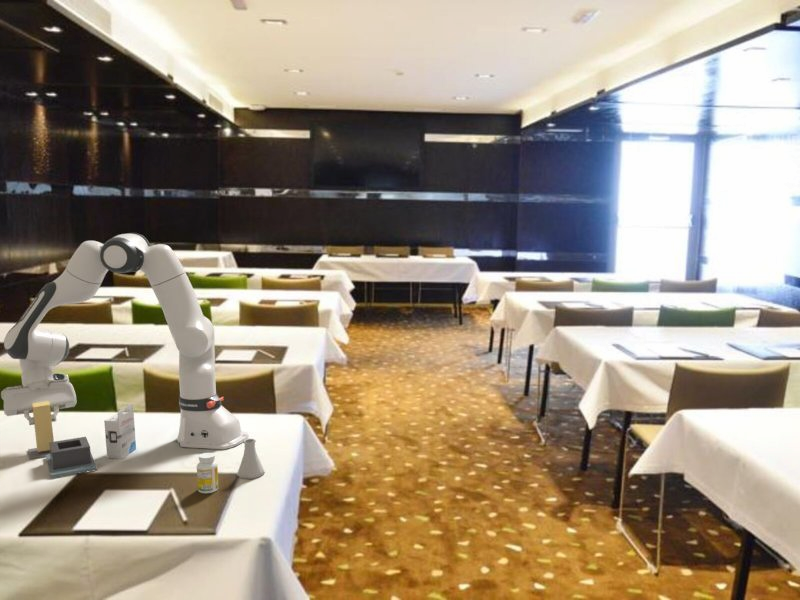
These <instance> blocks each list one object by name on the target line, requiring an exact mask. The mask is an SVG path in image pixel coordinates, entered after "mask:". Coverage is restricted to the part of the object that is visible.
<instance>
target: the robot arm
mask: <svg viewBox="0 0 800 600" xmlns="http://www.w3.org/2000/svg"><path fill="white" fill-rule="evenodd" d="M109 271H110V272H112V273H118V274H123V273H135V272H139V271H141V272H142V273H143V274H144V275H145V277H146V279H147V280H148V282H149V284H150V287H151V288H152V291H153V293H154V295H155V297H156V299H157V301H158V303H159V306H160V308H161V309H162V311H163V314H164V319H165V320H166V323H167V326H168V329H169V331H170V334H171V336H172V339H173V341H174V344H175V347H176V349H177V350H178V354H179V355H178V358H179V359H178V380H179V382H178V383H179V396H178V405H179V406H178V407H179V410H180V420H179V429H178V433H177V434H178V435H177V442H178V443H179V446H180V447H181V448H195V449H213V450H227V449H230V448H234V447H236V446H239V445H240V444H242V443H243V441H244V440H246V439H249V433H248V432H245V431H242V429H241V424H240V421H239V418H238V417H237V416H235V415H234V414H232V413H231V412H230V411H229V410H228V409H226V408H225V407H224V405H222V401H224V400H225V399H224V398H225V397H224V396H222V397H220V396H219V394H218V393H217V388H216V386H217V385H216V353H215V352H216V350H215V348H216V347H215V344H216V343H215V327H214V325H213V323H212V321H211V320H210V319H209V318H208V317H206V316H205V315H204V314H203V313H204V312H203V311H202V308H201V305H200V302H199V300H198V297H197V293H196V292H195V290H194V287H193V285H192V283H191V281H190V279H189V277H188V274H187V273H186V270H185V268H184V266H183V265H182V263H181V261H180V259H179V258H178V256H177V254H175V252H174V251H173V249H172V247H171V246H169V245H167V244H164V243H163V244H162V243H157V244H154V245H151V244H150V242H149V240H148V239H147V238H146V237H145V236H144V235H143V234H140V233H137V232H127V233H121V234H117V235H115V236H113V237H112V238H110V239H108V240H107V241H105V243H102V242H100V241H96V240H85V241H83V242H82V243H80V245H79V246H78V247H77V248H76V250H75V251H74V253H73V254H72V256H71V258H70V259H69V261H68V263H67V265H66V266H65V269H64V270H63V272H62V273H61V274H60V275H59V276H58V277H57V278H56V279H54V280H52V281H51V282H48V283H45V284H44V286H42V288H41V289H40V290H39V291H38V293H37V295H36V296H35V297H34V298H33V300H32V301H31V303H30V304H29V305H28V307H27V308H26V310H25V311H24V312H23V314H22V315H21V316H20V318H19V320H18V321H17V322H16V323H15V324H14V325H13V326H12V327H11V328H10V329H9V330H8V331H7V333H6V334H5V337H4V339H3V348H4V351H5V352H6V354H7V355H8V356H9V357H10V358H11V359H14V360H19V366H20V369H21V376H20V377H21V385H14V386H7V387H6V388H3V390H2V391H1V392H0V397H1V399H2V400H3V413H4V415H5V416H6V417H11V416H12V417H13V416H18V415H23V417H24V418H25V419H26V420H27V421H28V425H29V426H33V425H34V424H35V423H34V417H33V416H32V417H31V416H30V414H33V407H32V403H38V402H45V401H49V404H50V410H51V411H53V413H51V420H52V423H53V422H57V416H58V414H59V412H60V411H59V410H62V409H68V408H74V407H75V406H76V404H77V401H78V400H77V395H76V391H75V388H74V386H73V384H72V383H71V382H70V379H69V375H68V374H66V373H62V372H61V373H59V372H54V371H52V368H53V367H56V366H57V365H59V364H61V363H62V362H63V361H65V359H66V358H68V357H69V354H70V342H69V340H68V337H67V336H66V335H65V334H64V333H60V332H56V331H52V330H51V331H50V330H45V329H38V328H37V327H38V326H39V324H40V323H41V322H42V320H43V319H44V317H46V314H47V313H48V312H49V311H50V310H52V309H53V308H56V307H59V306H60V307H61V306H63V305H64V306H65V305H71V304H79V303H81V304H82V303H84V302H87V301H90V300H91V299H93V298H94V296H95V295H96V294H97V292H98V291H99V289H100V287H101V285H102V283H103V281H104V278H105V277H106V274H107V273H108V272H109Z"/></svg>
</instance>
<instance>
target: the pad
mask: <svg viewBox="0 0 800 600" xmlns="http://www.w3.org/2000/svg"><path fill="white" fill-rule="evenodd" d="M27 452H28V458H29V460H36V459H37V460H38V459H43V458H46V455H49V454H50V450H47V451H41V452H38V450H37V447H34V448H28V449H27Z"/></svg>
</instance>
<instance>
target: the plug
mask: <svg viewBox="0 0 800 600" xmlns="http://www.w3.org/2000/svg"><path fill="white" fill-rule="evenodd" d="M32 407H33V413H32V417H34V423H35V424H34V433H35V434H34V436H35V442H36V443H35V444H36V448H37V450H38V452H41V451H47V450H50V446H49V442H55V441H54V431H53V422H52V420H51V415H52V412H51V411H52V410H50V404H49V401H45V402H38V403H32Z"/></svg>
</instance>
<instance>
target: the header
mask: <svg viewBox="0 0 800 600" xmlns="http://www.w3.org/2000/svg"><path fill="white" fill-rule="evenodd" d="M49 446H50V458H51V462H52V466H53V470H55V469H61V468H66V467H72V466H78V465H84V464H89V463H91V454H92V452H91V446H90V443H89V440H88V439H87V436H82V437H81V436H80V437H75V438H70V439H69V438H67V439H63V440H57V441H56V440H55V441H54V442H49Z"/></svg>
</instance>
